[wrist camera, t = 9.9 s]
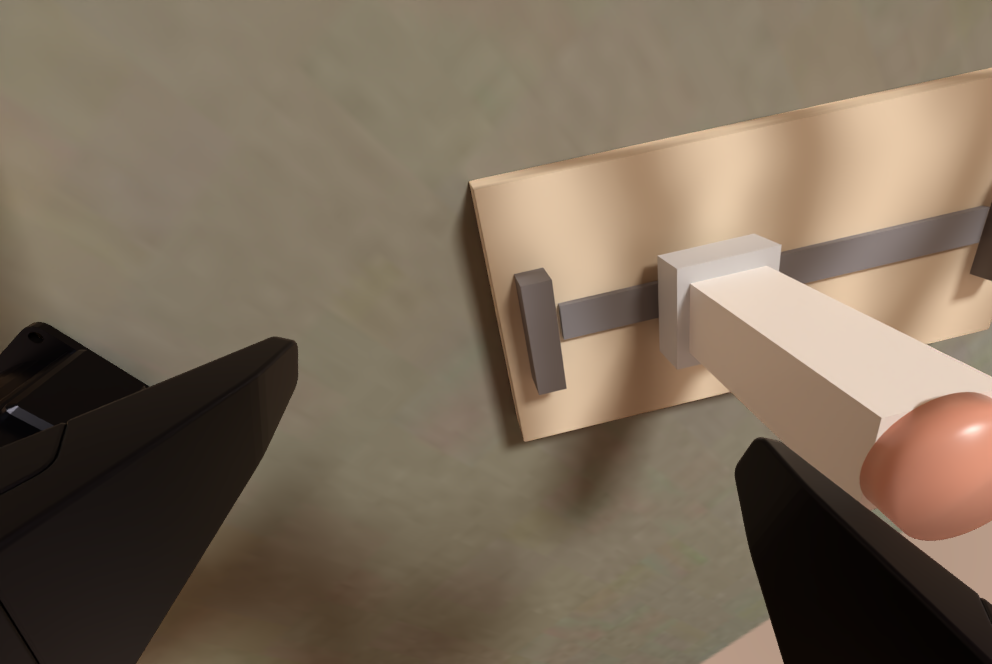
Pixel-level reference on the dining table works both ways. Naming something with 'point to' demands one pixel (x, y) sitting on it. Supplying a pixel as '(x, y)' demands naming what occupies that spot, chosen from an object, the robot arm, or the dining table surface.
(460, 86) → the dining table surface
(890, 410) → the slider lever
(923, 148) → the slider console
